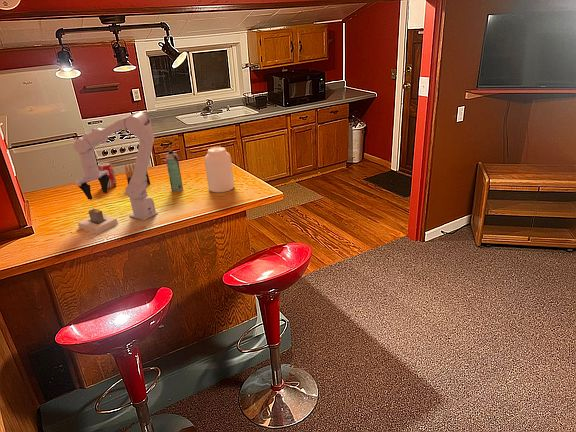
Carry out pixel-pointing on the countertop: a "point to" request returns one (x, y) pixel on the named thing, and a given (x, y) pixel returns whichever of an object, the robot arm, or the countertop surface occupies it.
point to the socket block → (97, 228)
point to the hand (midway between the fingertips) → (97, 195)
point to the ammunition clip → (132, 173)
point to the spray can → (174, 171)
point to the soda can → (111, 173)
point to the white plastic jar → (219, 170)
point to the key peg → (96, 216)
